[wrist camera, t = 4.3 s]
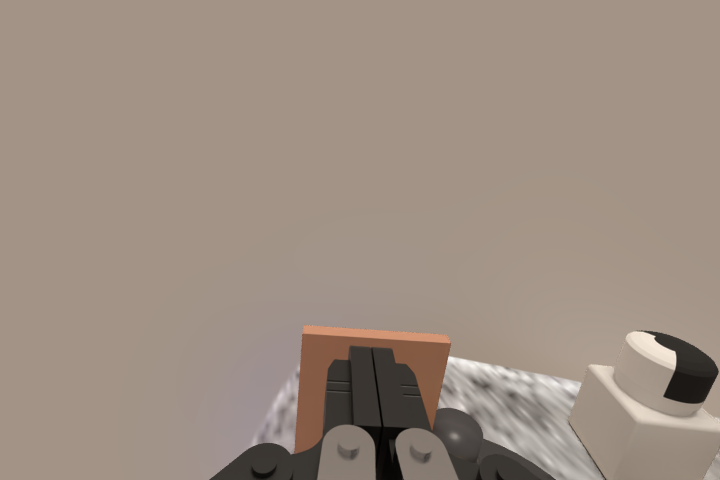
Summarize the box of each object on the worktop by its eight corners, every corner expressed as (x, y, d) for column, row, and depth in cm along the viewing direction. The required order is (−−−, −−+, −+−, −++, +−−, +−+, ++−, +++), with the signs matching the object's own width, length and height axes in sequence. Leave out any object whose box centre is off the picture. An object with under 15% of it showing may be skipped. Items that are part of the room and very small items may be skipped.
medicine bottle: (636, 429, 37) (681, 326, 33) (695, 498, 30) (760, 379, 26) (566, 421, 37) (603, 317, 33) (609, 488, 30) (662, 367, 26)
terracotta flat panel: (465, 437, 30) (493, 327, 27) (482, 482, 27) (518, 360, 23) (297, 430, 29) (306, 314, 26) (291, 476, 25) (299, 347, 22)
